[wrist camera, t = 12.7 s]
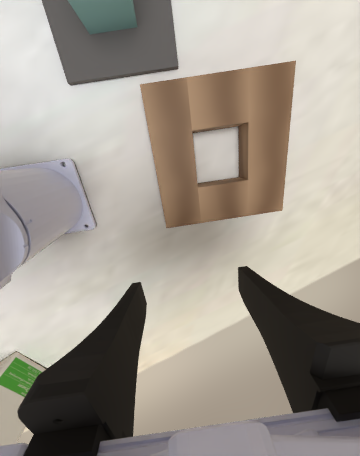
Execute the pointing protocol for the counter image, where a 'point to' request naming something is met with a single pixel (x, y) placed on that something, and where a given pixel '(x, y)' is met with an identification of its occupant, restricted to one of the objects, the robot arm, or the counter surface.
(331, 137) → the counter surface
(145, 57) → the rubber mat
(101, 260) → the counter surface
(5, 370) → the skincare box
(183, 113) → the wooden square hole board
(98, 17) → the teal plug
